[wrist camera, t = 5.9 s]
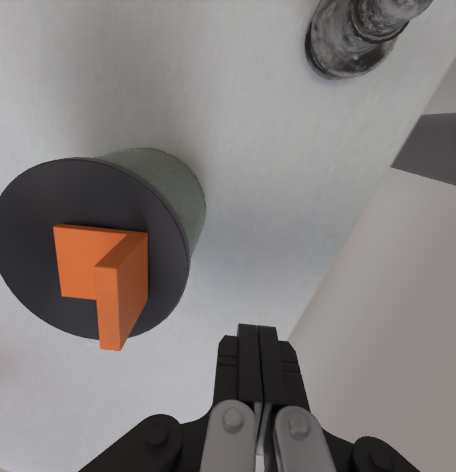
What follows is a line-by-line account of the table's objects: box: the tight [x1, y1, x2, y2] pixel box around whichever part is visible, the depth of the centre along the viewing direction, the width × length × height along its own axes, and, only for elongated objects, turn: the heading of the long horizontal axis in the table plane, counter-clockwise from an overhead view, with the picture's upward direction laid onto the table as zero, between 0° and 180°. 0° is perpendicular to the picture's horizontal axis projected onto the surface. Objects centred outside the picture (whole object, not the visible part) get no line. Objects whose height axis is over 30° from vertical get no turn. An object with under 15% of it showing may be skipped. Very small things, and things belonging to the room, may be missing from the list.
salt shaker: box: [305, 0, 433, 80], centre depth 17 cm, size 6×6×12 cm
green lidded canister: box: [0, 148, 206, 340], centre depth 23 cm, size 12×12×12 cm
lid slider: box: [53, 224, 148, 351], centre depth 15 cm, size 5×4×4 cm
